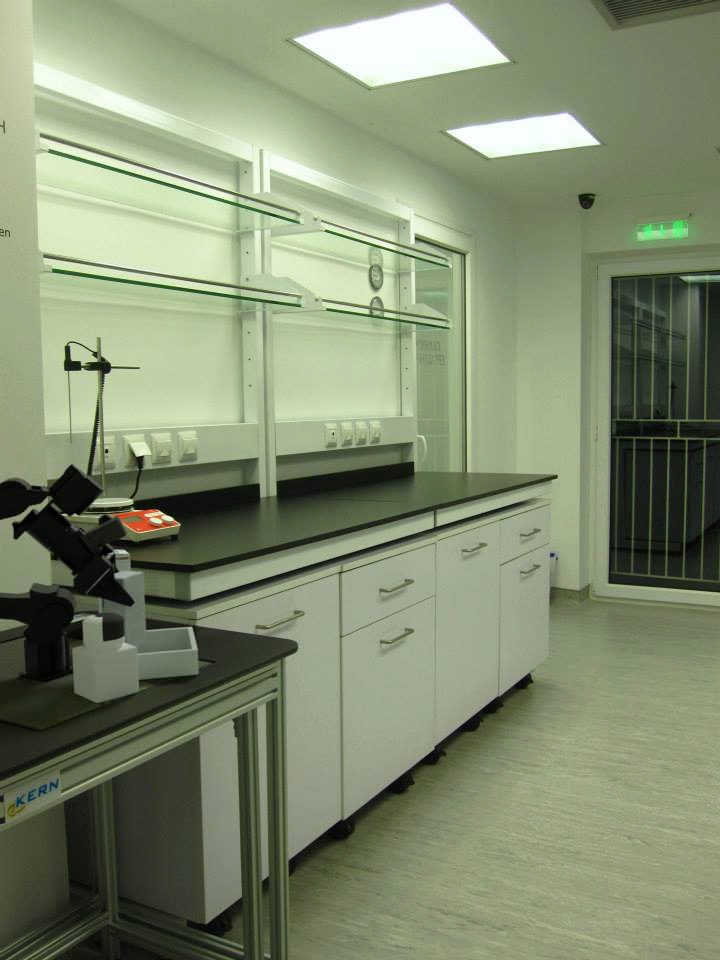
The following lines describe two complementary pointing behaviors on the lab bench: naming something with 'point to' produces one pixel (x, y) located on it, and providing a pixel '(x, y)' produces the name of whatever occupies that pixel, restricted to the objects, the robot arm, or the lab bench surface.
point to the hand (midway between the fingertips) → (133, 599)
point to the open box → (168, 653)
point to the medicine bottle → (105, 660)
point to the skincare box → (136, 612)
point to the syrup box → (121, 564)
